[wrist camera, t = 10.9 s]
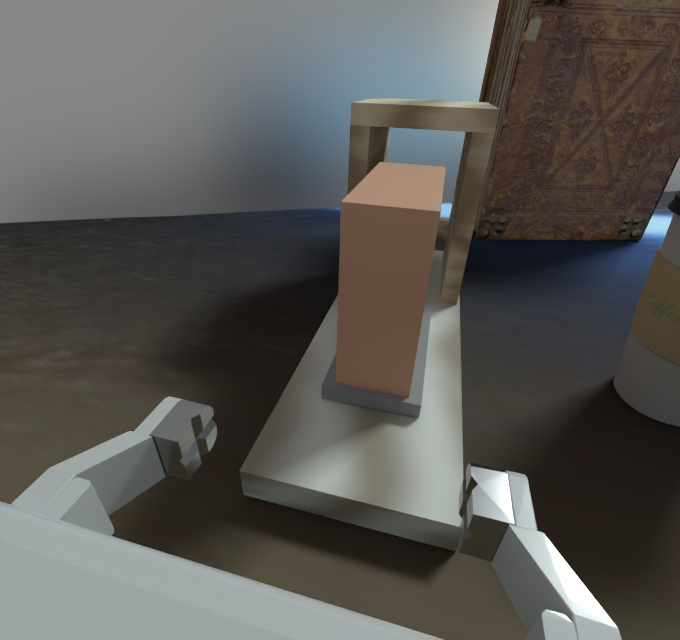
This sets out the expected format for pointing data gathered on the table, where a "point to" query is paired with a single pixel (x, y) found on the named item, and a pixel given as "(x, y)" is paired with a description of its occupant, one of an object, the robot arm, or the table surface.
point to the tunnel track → (372, 424)
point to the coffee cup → (656, 336)
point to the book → (580, 118)
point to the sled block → (385, 288)
